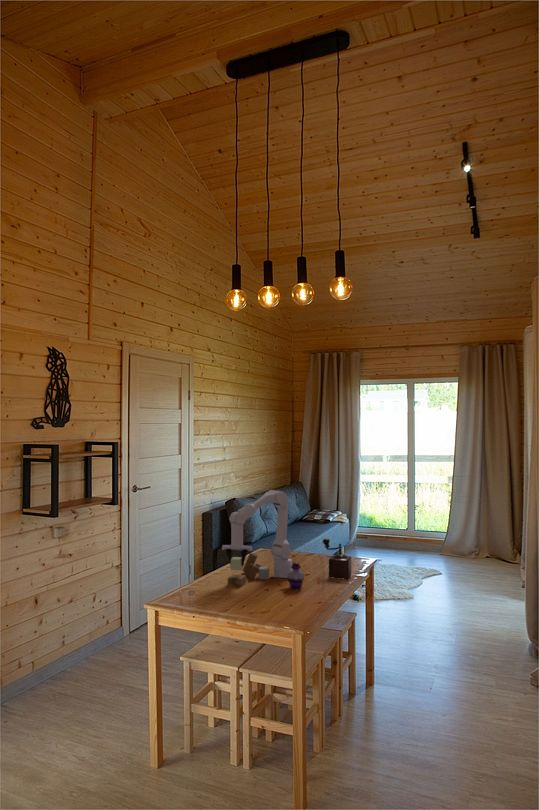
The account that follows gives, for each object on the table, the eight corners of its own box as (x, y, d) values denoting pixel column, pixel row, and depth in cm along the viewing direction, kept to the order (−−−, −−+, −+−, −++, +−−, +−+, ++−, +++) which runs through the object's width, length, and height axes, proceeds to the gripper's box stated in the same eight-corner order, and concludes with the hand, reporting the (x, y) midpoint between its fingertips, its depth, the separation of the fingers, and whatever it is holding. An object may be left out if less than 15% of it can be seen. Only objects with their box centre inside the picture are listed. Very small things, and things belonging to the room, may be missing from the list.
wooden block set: (255, 584, 271) (264, 565, 271) (240, 577, 272) (248, 558, 272) (258, 573, 289) (265, 555, 289) (243, 566, 290) (251, 549, 290)
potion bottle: (286, 585, 261) (286, 560, 262) (304, 585, 261) (304, 560, 262) (287, 590, 252) (287, 564, 253) (305, 590, 252) (305, 564, 253)
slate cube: (269, 576, 277) (269, 567, 277) (268, 579, 272) (268, 569, 272) (259, 576, 277) (259, 566, 277) (258, 579, 272) (258, 569, 272)
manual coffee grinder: (352, 574, 282) (352, 539, 283) (348, 579, 272) (348, 543, 273) (323, 571, 287) (323, 537, 288) (318, 576, 277) (318, 541, 278)
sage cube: (243, 567, 265) (243, 557, 265) (240, 570, 260) (240, 559, 260) (233, 567, 265) (233, 556, 266) (230, 569, 260) (230, 559, 261)
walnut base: (245, 583, 265) (245, 575, 265) (241, 587, 258) (241, 579, 258) (232, 582, 266) (232, 574, 267) (227, 586, 260) (227, 577, 260)
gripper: (220, 537, 261) (220, 566, 260) (250, 539, 258) (250, 567, 258) (224, 535, 267) (224, 562, 267) (252, 536, 265) (252, 564, 265)
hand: (237, 565), depth 263 cm, fingers closed on sage cube, 5 cm apart
